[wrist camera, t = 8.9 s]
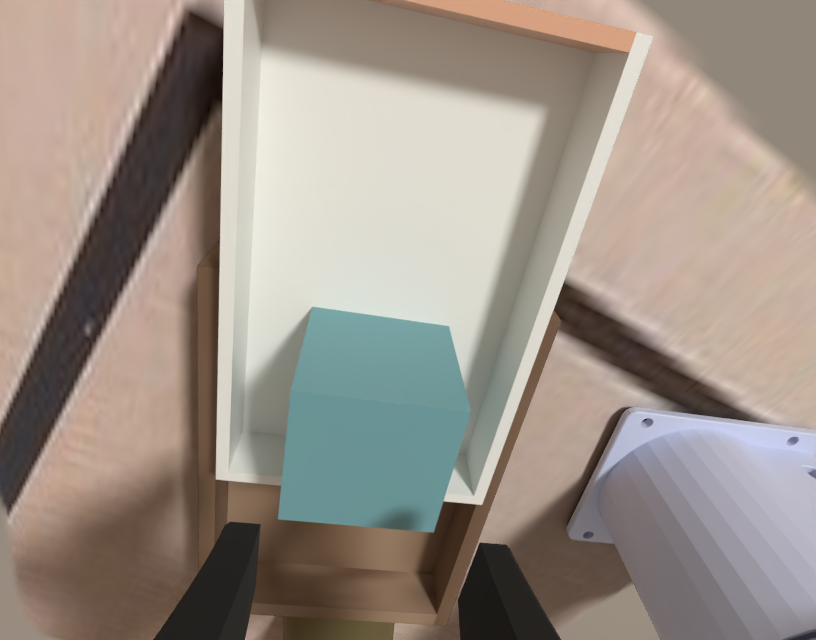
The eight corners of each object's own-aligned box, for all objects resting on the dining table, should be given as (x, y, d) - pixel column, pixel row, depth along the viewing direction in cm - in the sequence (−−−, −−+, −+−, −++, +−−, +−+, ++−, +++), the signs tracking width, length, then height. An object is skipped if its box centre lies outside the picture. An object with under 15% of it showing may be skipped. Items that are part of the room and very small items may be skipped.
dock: (534, 282, 18) (561, 320, 16) (439, 566, 26) (445, 626, 23) (225, 232, 17) (197, 266, 14) (218, 549, 24) (198, 610, 22)
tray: (603, 39, 14) (653, 36, 11) (469, 450, 20) (482, 505, 18) (256, -43, 12) (225, -67, 10) (236, 424, 19) (215, 479, 17)
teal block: (421, 430, 19) (433, 532, 15) (299, 416, 18) (277, 519, 14) (448, 326, 17) (470, 412, 13) (312, 306, 16) (290, 390, 12)
